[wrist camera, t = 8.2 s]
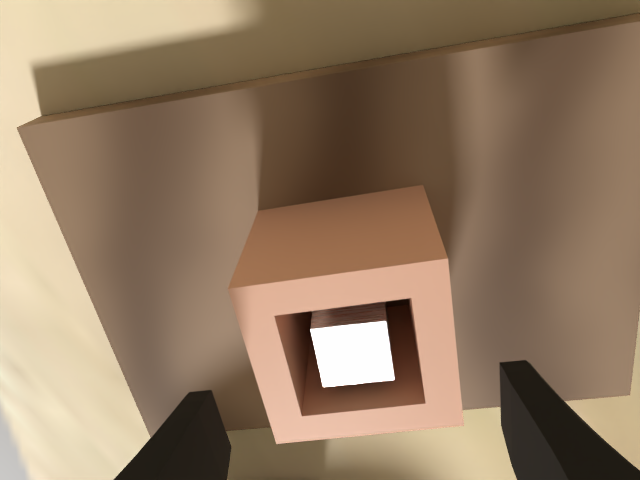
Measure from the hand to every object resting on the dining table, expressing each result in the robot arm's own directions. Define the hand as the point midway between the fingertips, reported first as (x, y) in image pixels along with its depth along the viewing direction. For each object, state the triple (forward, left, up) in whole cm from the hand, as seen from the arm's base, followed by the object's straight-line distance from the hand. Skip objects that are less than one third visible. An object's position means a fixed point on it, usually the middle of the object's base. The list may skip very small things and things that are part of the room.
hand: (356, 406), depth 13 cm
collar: (0, 0, -7) cm, 7 cm away
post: (0, 0, -7) cm, 7 cm away
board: (0, 0, -8) cm, 8 cm away
